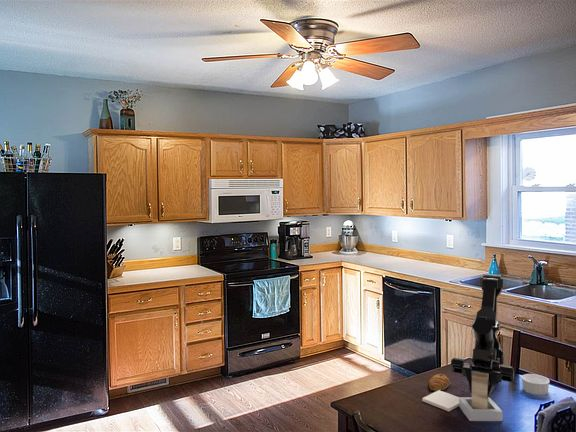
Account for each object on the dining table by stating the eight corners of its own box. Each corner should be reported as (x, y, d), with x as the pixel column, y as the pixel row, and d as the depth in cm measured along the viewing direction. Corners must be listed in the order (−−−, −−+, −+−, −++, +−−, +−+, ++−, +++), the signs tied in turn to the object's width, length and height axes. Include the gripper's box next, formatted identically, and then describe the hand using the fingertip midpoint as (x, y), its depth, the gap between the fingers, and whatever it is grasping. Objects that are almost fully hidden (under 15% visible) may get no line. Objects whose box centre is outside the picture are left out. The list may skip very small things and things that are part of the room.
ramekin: (543, 398, 158) (544, 385, 158) (516, 390, 165) (517, 378, 164) (553, 390, 164) (553, 378, 164) (527, 383, 170) (527, 371, 170)
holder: (458, 406, 152) (458, 397, 152) (489, 406, 152) (489, 397, 152) (469, 421, 142) (469, 411, 142) (502, 421, 142) (502, 411, 142)
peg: (473, 409, 150) (473, 371, 150) (488, 412, 148) (488, 373, 148) (471, 414, 146) (471, 376, 146) (486, 418, 144) (487, 378, 144)
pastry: (444, 394, 162) (444, 383, 162) (424, 390, 165) (424, 379, 165) (450, 385, 170) (450, 375, 169) (432, 381, 173) (432, 371, 173)
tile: (438, 392, 163) (438, 390, 163) (465, 402, 155) (465, 399, 155) (422, 401, 156) (422, 398, 156) (449, 411, 149) (449, 408, 149)
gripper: (451, 333, 154) (445, 378, 145) (514, 341, 145) (511, 389, 136) (455, 350, 161) (449, 393, 152) (514, 358, 152) (512, 405, 143)
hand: (479, 394), depth 146 cm, fingers closed on peg, 4 cm apart
